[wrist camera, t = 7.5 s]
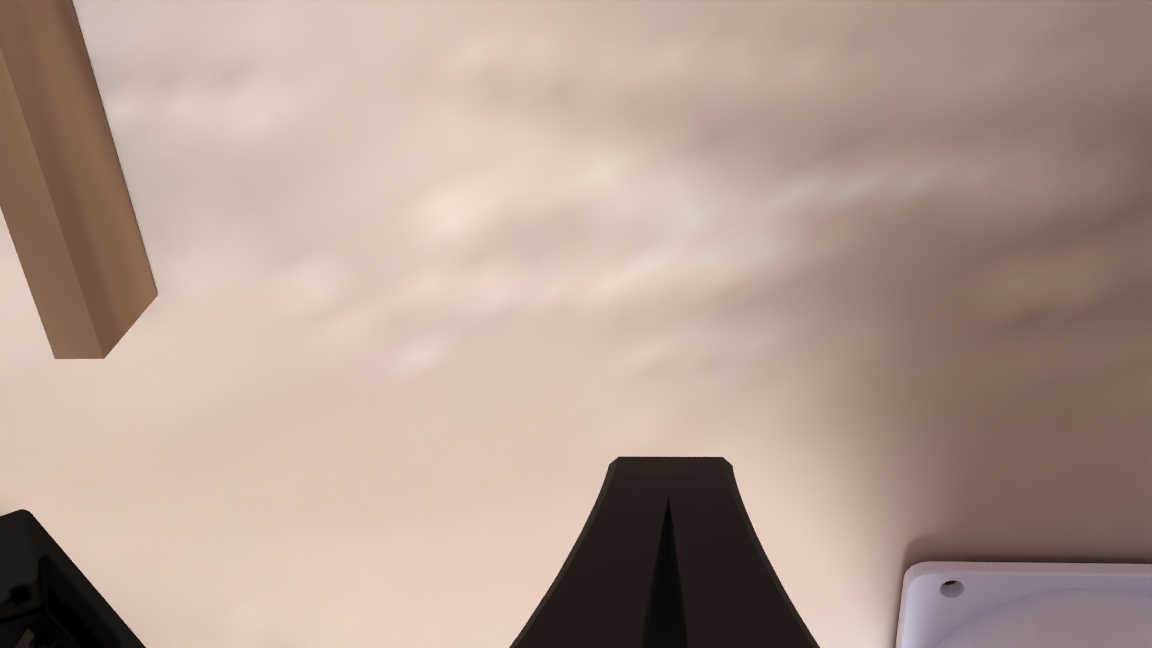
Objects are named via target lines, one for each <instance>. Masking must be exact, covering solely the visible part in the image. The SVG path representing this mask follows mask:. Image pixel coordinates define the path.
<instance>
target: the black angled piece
mask: <svg viewBox="0 0 1152 648" xmlns="http://www.w3.org/2000/svg"><path fill="white" fill-rule="evenodd" d="M0 648H146V647H145V646H144V645H143V644H142V642H141V641H140V640H139V639H138V638H137V637H136V635H135V634H134V633H133V632H132V631H131V630H130V628H129V627H128V626H127V625H126V624H125V623H124V621H123V620H122V619H121V618H120V617H119V616H118V614H117V613H116V612H115V611H114V610H113V609H112V607H111V606H110V605H109V604H108V603H107V601H106V600H105V599H104V598H103V597H102V596H101V594H100V593H99V592H98V591H97V590H96V589H95V587H94V586H93V585H92V584H91V583H90V582H89V580H88V579H87V578H86V577H85V576H84V575H83V573H82V572H81V571H80V570H79V569H78V568H77V566H76V565H75V564H74V563H73V562H72V561H71V559H70V558H69V557H68V556H67V555H66V553H65V552H64V551H63V550H62V549H61V548H60V546H59V545H58V544H57V543H56V542H55V541H54V539H53V538H52V537H51V536H50V535H49V534H48V532H47V531H46V530H45V529H44V528H43V527H42V525H41V524H40V523H39V522H38V521H37V520H36V518H35V517H34V516H33V515H32V514H31V513H30V512H29V511H27V510H23V509H21V510H18V511H15V512H12V513H9V514H6V515H3V516H0Z"/></svg>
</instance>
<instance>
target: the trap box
mask: <svg viewBox="0 0 1152 648" xmlns="http://www.w3.org/2000/svg"><path fill="white" fill-rule="evenodd" d="M0 207H1V210H2V212H3V215H4V218H5V221H6V224H7V226H8V229H9V232H10V235H11V238H12V240H13V243H14V246H15V249H16V252H17V254H18V257H19V260H20V263H21V265H22V268H23V271H24V274H25V277H26V279H27V282H28V285H29V288H30V291H31V293H32V296H33V299H34V302H35V305H36V307H37V310H38V313H39V316H40V318H41V321H42V324H43V327H44V330H45V332H46V335H47V338H48V341H49V344H50V346H51V349H52V352H53V355H54V358H55V359H104V358H105V357H106V356H107V355H108V353H109V352H110V351H111V350H112V349H113V348H114V346H115V345H116V344H117V343H118V342H119V340H120V339H121V338H122V337H123V336H124V335H125V333H126V332H127V331H128V330H129V329H130V327H131V326H132V325H133V324H134V323H135V322H136V320H137V319H138V318H139V317H140V316H141V314H142V313H143V312H144V311H145V310H146V309H147V307H148V306H149V305H150V304H151V303H152V301H153V300H154V299H155V298H156V297H157V296H158V294H157V291H156V287H155V284H154V280H153V277H152V274H151V270H150V267H149V263H148V260H147V256H146V253H145V250H144V246H143V243H142V239H141V236H140V232H139V229H138V226H137V222H136V219H135V215H134V212H133V208H132V205H131V202H130V198H129V195H128V191H127V188H126V185H125V181H124V178H123V174H122V171H121V167H120V164H119V161H118V157H117V154H116V150H115V147H114V143H113V140H112V137H111V133H110V130H109V126H108V123H107V119H106V116H105V113H104V109H103V106H102V102H101V99H100V95H99V92H98V89H97V85H96V82H95V78H94V75H93V72H92V68H91V65H90V61H89V58H88V54H87V51H86V48H85V44H84V41H83V37H82V34H81V30H80V27H79V24H78V20H77V17H76V13H75V10H74V6H73V3H72V0H0Z"/></svg>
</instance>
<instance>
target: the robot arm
mask: <svg viewBox="0 0 1152 648" xmlns="http://www.w3.org/2000/svg"><path fill="white" fill-rule="evenodd" d="M952 580H955V581H958V582H956V583H955V584H952V585H943V584H944V583H945V582H947V581H952ZM509 648H820V647H819V645H818V644H817V642H816V641H815V639H814V638H813V636H812V635H811V633H810V631H809V630H808V628H807V626H806V625H805V623H804V622H803V620H802V618H801V617H800V615H799V614H798V612H797V610H796V609H795V607H794V605H793V603H792V602H791V600H790V598H789V597H788V595H787V593H786V591H785V590H784V588H783V586H782V584H781V582H780V580H779V578H778V576H777V574H776V573H775V571H774V569H773V567H772V565H771V563H770V561H769V559H768V557H767V556H766V554H765V552H764V550H763V548H762V545H761V543H760V541H759V539H758V537H757V535H756V533H755V530H754V528H753V526H752V523H751V521H750V519H749V516H748V514H747V512H746V509H745V507H744V504H743V501H742V499H741V496H740V493H739V490H738V487H737V484H736V480H735V477H734V472H733V467H732V465H731V464H730V463H729V462H728V461H727V460H726V459H725V458H723V457H618V458H617V459H615V460H614V461H613V462H612V463H611V464H609V467H608V471H607V474H606V477H605V480H604V483H603V485H602V488H601V491H600V493H599V495H598V498H597V500H596V502H595V505H594V507H593V509H592V511H591V513H590V515H589V517H588V519H587V521H586V523H585V526H584V528H583V530H582V532H581V534H580V535H579V537H578V539H577V541H576V543H575V544H574V546H573V548H572V550H571V552H570V553H569V555H568V557H567V559H566V561H565V562H564V564H563V566H562V568H561V570H560V572H559V573H558V575H557V577H556V578H555V580H554V582H553V583H552V585H551V586H550V588H549V590H548V591H547V593H546V594H545V596H544V597H543V599H542V600H541V602H540V603H539V605H538V606H537V608H536V609H535V611H534V613H533V614H532V616H531V617H530V619H529V620H528V622H527V623H526V625H525V626H524V628H523V629H522V631H521V632H520V634H519V635H518V636H517V638H516V639H515V640H514V642H513V643H512V645H511V646H510V647H509ZM895 648H1152V564H1106V563H1022V562H938V561H928V562H920V563H918V564H915V565H913V566H911V567H910V568H909V569H908V570H907V571H906V573H905V576H904V581H903V589H902V597H901V606H900V614H899V622H898V631H897V639H896V647H895Z"/></svg>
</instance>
